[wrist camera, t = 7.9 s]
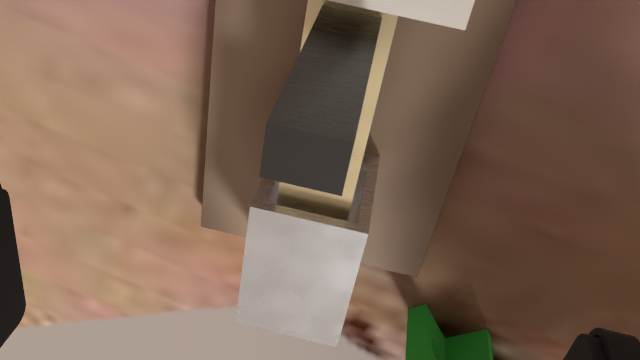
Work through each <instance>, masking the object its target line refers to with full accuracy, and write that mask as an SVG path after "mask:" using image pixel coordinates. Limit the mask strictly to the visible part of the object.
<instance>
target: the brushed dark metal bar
mask: <svg viewBox="0 0 640 360" xmlns="http://www.w3.org/2000/svg"><path fill="white" fill-rule="evenodd" d="M397 19H398V16H397V15H392V14H388V13H383V12H378V11H374V10H369V9H365V8H360V7H356V6H351V5H347V4H342V3H337V2H333V1H328V0H308V3H307V9H306V16H305V22H304V29H303V35H302V41H301V48H300V53H299V56H298V58H297V60H296V62H295V64H294V66H293V68H292V70H291V72H290V74H289V77H288V79H287V81H286V83H285V85H284V87H283V89H282V91H281V93H280V95H279V98H278V100H277V102H276V104H275V106H274V108H273V110H272V112H271V114H270V116H269V119H268V121H267V123H266V130H265V137H264V145H263V152H262V160H261V168H260V175H259V177H261V178H265V179H269V180H274V181H278V182H280V183H279V189H278V195H277V202H276V205H280V206H285V207H289V208H293V209H298V210H302V211H306V212H311V213H315V214H319V215H323V216H328V217H332V218H336V219H341V220H345V221H347V220H348V216H349V212H350V208H351V204H352V200H353V196H354V192H355V188H356V184H357V180H358V176H359V172H360V168H361V164H362V160H363V156H364V152H365V148H366V144H367V140H368V136H369V132H370V128H371V124H372V120H373V116H374V112H375V108H376V104H377V100H378V96H379V92H380V88H381V84H382V80H383V76H384V72H385V68H386V64H387V60H388V56H389V52H390V47H391V43H392V39H393V35H394V31H395V27H396V23H397Z"/></svg>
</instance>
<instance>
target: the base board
mask: <svg viewBox="0 0 640 360" xmlns="http://www.w3.org/2000/svg"><path fill="white" fill-rule="evenodd" d="M516 2H517V0H475V2H474V5H473V8H472V11H471V14H470V17H469V20H468V23H467V27H466V30H460V29H456V28H451V27H447V26H442V25H438V24H433V23H429V22H424V21H419V20H415V19H410V18H406V17H401V16H398V19H397V23H396V27H395V31H394V35H393V39H392V43H391V47H390V52H389V56H388V60H387V64H386V68H385V72H384V76H383V80H382V84H381V88H380V92H379V96H378V100H377V104H376V108H375V112H374V116H373V120H372V124H371V128H370V132H369V136H368V140H367V144H366V148H365V152H369V153H373V154H377V155H380V160H379V167H378V173H377V180H376V187H375V193H374V200H373V207H372V213H371V220H370V227H369V234H368V237H367V241H366V245H365V248H364V252H363V255H362V259H361V262H360V264H363V265H367V266H371V267H375V268H380V269H384V270H388V271H392V272H397V273H401V274H405V275H409V276H414V277H417V276H418V274H419V271H420V268H421V265H422V262H423V260H424V257H425V254H426V251H427V249H428V246H429V243H430V240H431V238H432V235H433V232H434V229H435V227H436V224H437V221H438V218H439V215H440V213H441V210H442V207H443V204H444V202H445V199H446V196H447V193H448V191H449V188H450V185H451V182H452V180H453V177H454V174H455V171H456V168H457V166H458V163H459V160H460V157H461V155H462V152H463V149H464V146H465V144H466V141H467V138H468V135H469V132H470V130H471V127H472V124H473V121H474V119H475V116H476V113H477V110H478V108H479V105H480V102H481V99H482V97H483V94H484V91H485V88H486V85H487V83H488V80H489V77H490V74H491V72H492V69H493V66H494V63H495V61H496V58H497V55H498V52H499V50H500V47H501V44H502V41H503V38H504V36H505V33H506V30H507V27H508V25H509V22H510V19H511V16H512V14H513V11H514V8H515V5H516ZM307 3H308V0H216V2H215V17H214V32H213V47H212V63H211V78H210V93H209V109H208V124H207V139H206V155H205V170H204V185H203V201H202V216H201V227H205V228H209V229H214V230H218V231H222V232H226V233H231V234H235V235H239V236H243V237H246V235H247V227H248V219H249V211H250V205H251V203H252V201H253V198H254V196H255V194H256V191H257V189H258V187H259V184H260V182H261V180H262V178H261V177H259V175H260V168H261V160H262V152H263V145H264V137H265V130H266V123H267V121H268V119H269V116H270V114H271V112H272V110H273V108H274V106H275V104H276V102H277V100H278V98H279V95H280V93H281V91H282V89H283V87H284V85H285V83H286V81H287V79H288V77H289V74H290V72H291V70H292V68H293V66H294V64H295V62H296V60H297V58H298V56H299V53H300V48H301V41H302V35H303V29H304V22H305V16H306V9H307Z"/></svg>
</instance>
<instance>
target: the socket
mask: <svg viewBox="0 0 640 360" xmlns="http://www.w3.org/2000/svg"><path fill="white" fill-rule="evenodd" d="M328 1H333V2H337V3H342V4H347V5H351V6H356V7H360V8H365V9H369V10H374V11H378V12H383V13H388V14H392V15H397V16H401V17H406V18H410V19H415V20H419V21H424V22H429V23H433V24H438V25H442V26H447V27H451V28H456V29H460V30H466V27H467V23H468V20H469V17H470V14H471V11H472V8H473V5H474V2H475V0H328Z"/></svg>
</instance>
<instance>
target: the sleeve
mask: <svg viewBox="0 0 640 360" xmlns="http://www.w3.org/2000/svg"><path fill="white" fill-rule="evenodd" d="M379 160H380V155H377V154H373V153H369V152H364V156H363V160H362V164H361V168H360V172H359V176H358V180H357V184H356V188H355V192H354V196H353V200H352V204H351V208H350V212H349V216H348V220H347V221H345V220H341V219H336V218H332V217H328V216H323V215H319V214H315V213H311V212H306V211H302V210H298V209H293V208H289V207H285V206H280V205H276V202H277V195H278V189H279V183H280V182H278V181H274V180H269V179H265V178H262V180H261V182H260V184H259V187H258V189H257V191H256V194H255V196H254V198H253V201H252V203H251V205H250V211H249V219H248V227H247V235H246V243H245V251H244V259H243V267H242V275H241V283H240V291H239V299H238V308H237V316H236V324H240V325H244V326H248V327H252V328H257V329H261V330H265V331H269V332H273V333H277V334H282V335H286V336H290V337H294V338H298V339H303V340H307V341H311V342H315V343H319V344H323V345H328V346H331V347H336V348H337V345H338V341H339V338H340V334H341V330H342V327H343V323H344V320H345V316H346V313H347V309H348V305H349V302H350V298H351V295H352V291H353V287H354V284H355V280H356V277H357V273H358V270H359V266H360V262H361V259H362V255H363V252H364V248H365V245H366V241H367V237H368V234H369V227H370V220H371V213H372V207H373V200H374V193H375V187H376V180H377V173H378V167H379Z"/></svg>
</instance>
